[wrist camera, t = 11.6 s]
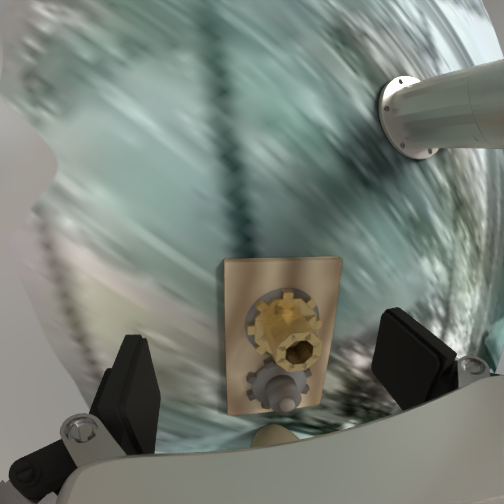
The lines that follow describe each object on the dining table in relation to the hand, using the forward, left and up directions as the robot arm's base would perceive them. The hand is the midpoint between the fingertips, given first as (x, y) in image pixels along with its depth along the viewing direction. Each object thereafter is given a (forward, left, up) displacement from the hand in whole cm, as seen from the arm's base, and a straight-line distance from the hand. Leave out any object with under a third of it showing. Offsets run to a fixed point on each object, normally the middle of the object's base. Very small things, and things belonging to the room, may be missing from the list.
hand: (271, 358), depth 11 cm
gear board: (-8, +16, -26) cm, 31 cm away
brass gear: (-8, +12, -24) cm, 28 cm away
